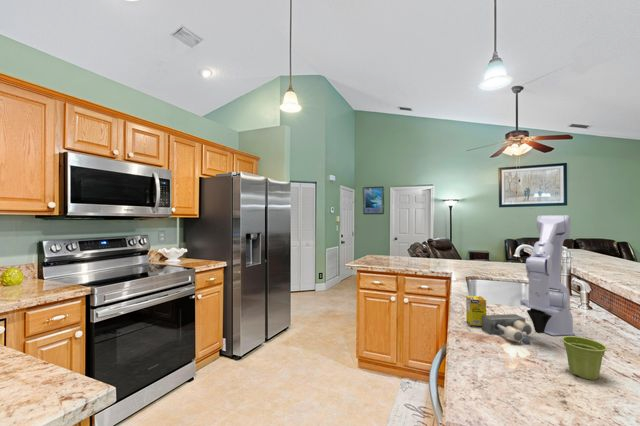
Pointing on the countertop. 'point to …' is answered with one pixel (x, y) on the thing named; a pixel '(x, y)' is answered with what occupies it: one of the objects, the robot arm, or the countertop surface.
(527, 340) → the potentiometer
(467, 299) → the supplement box
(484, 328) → the panel
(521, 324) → the knob
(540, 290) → the robot arm
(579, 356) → the plant pot
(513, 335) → the knob
